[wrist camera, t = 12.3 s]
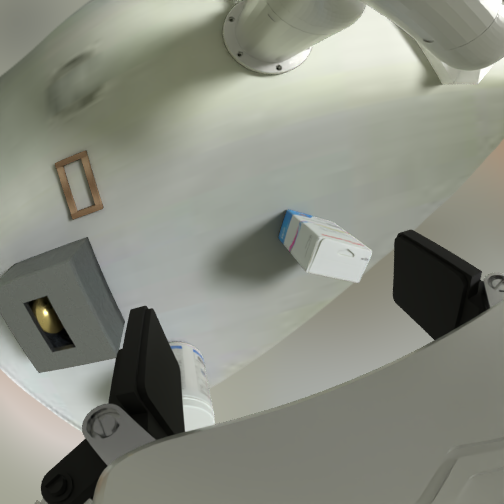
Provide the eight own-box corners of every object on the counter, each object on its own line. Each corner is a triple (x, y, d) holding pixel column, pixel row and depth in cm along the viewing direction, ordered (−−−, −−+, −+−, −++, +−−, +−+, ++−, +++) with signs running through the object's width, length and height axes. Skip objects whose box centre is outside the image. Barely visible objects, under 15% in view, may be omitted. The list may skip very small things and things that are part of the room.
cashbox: (14, 264, 38) (-12, 290, 30) (87, 236, 40) (68, 262, 32) (53, 339, 44) (38, 372, 36) (124, 321, 46) (117, 357, 38)
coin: (42, 283, 39) (64, 310, 42) (22, 313, 34) (46, 339, 38) (51, 283, 38) (73, 311, 41) (29, 314, 33) (55, 341, 37)
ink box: (276, 239, 47) (304, 274, 36) (286, 208, 45) (319, 234, 34) (324, 251, 49) (361, 284, 39) (334, 222, 48) (375, 249, 37)
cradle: (57, 162, 35) (54, 163, 34) (86, 150, 36) (84, 150, 35) (74, 217, 38) (72, 219, 38) (103, 207, 39) (101, 209, 38)
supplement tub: (145, 372, 51) (143, 436, 38) (157, 333, 48) (154, 399, 35) (196, 382, 54) (204, 445, 41) (212, 346, 52) (224, 410, 38)
